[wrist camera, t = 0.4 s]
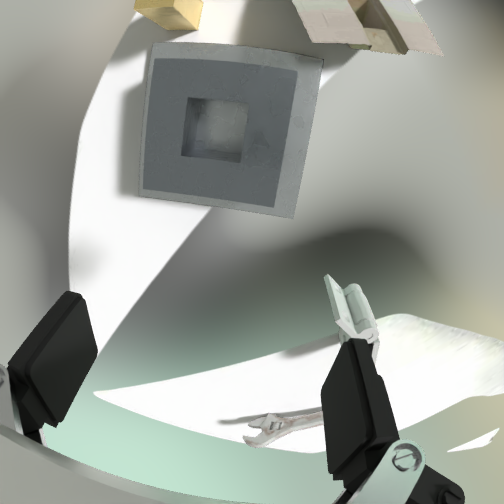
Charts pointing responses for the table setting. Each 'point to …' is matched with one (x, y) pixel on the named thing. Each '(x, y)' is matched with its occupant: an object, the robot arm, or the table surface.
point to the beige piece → (368, 25)
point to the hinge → (353, 314)
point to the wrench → (280, 427)
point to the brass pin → (172, 13)
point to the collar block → (227, 125)
